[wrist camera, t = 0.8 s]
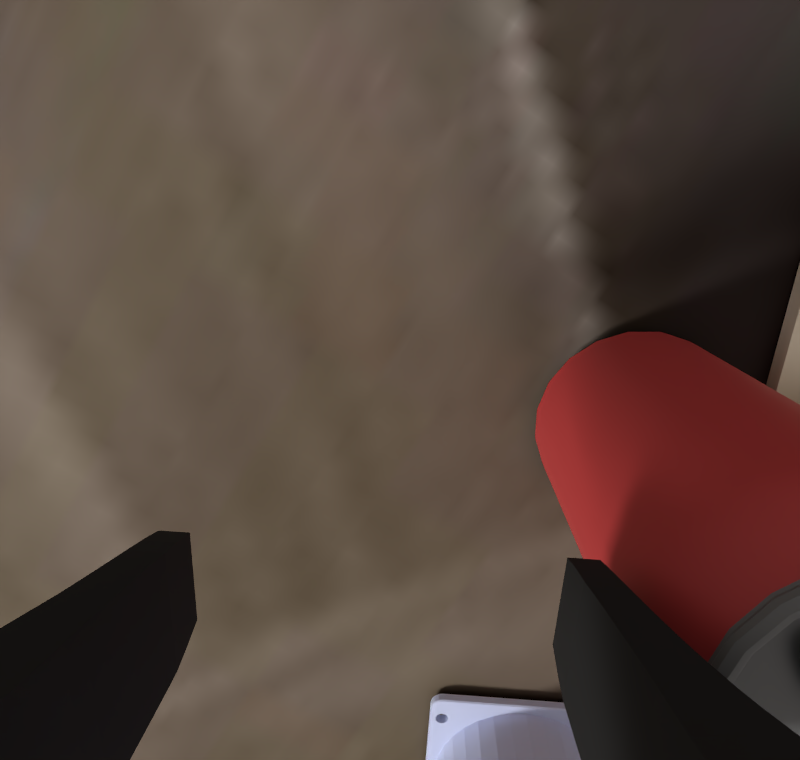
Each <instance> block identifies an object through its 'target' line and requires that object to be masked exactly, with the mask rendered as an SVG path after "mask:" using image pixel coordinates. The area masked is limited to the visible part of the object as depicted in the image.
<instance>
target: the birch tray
mask: <svg viewBox="0 0 800 760" xmlns="http://www.w3.org/2000/svg"><path fill="white" fill-rule="evenodd" d="M766 386H768V387H770V388H772V389H773V390H775V391H777V392H779V393H780V394H782V395H784V396H786V397H787V398H789V399H791V400H792V401H794V402H796V403H798V404H799V405H800V263H799V267H798V270H797V274H796V278H795V281H794V285H793V289H792V292H791V296H790V300H789V303H788V307H787V310H786V314H785V318H784V321H783V325H782V329H781V332H780V336H779V340H778V343H777V347H776V351H775V354H774V358H773V362H772V365H771V369H770V372H769V376H768V380H767V383H766Z"/></svg>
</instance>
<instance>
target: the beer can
mask: <svg viewBox="0 0 800 760" xmlns="http://www.w3.org/2000/svg"><path fill="white" fill-rule="evenodd" d="M535 438H536V442H537V445H538V449H539V453H540V456H541V460H542V463H543V465H544V468H545V470H546V472H547V475H548V477H549V479H550V482H551V484H552V486H553V489H554V491H555V493H556V496H557V498H558V501H559V503H560V505H561V508H562V510H563V512H564V515H565V517H566V519H567V522H568V524H569V526H570V529H571V531H572V533H573V536H574V538H575V540H576V543H577V545H578V547H579V550H580V552H581V554H582V557H583V559H595V560H601V561H602V562H603V563H604V564H605V565H606V566H607V567H608V568H609V569H611V570H612V571H613V572H614V573H615V574H616V575H617V576H618V577H619V578H620V579H621V580H622V581H623V582H624V583H625V584H626V585H627V586H628V587H629V588H630V589H631V590H632V591H633V592H634V593H635V594H636V595H637V596H638V597H639V598H640V599H641V600H642V601H643V602H644V603H645V604H646V605H647V606H648V607H649V608H650V609H651V610H652V611H653V612H654V613H655V614H656V615H657V616H658V617H659V618H660V619H661V620H662V621H663V622H664V623H665V624H667V625H668V626H669V627H670V628H671V629H672V630H673V631H674V632H675V633H676V634H677V635H678V636H679V637H680V638H681V639H682V640H684V641H685V642H686V643H687V644H688V645H689V646H690V647H691V648H692V649H693V650H695V651H696V652H697V653H698V654H699V655H700V656H701V657H702V658H703V659H705V660H706V661H707V662H708V663H709V664H710V665H712V666H713V667H714V668H715V669H716V670H717V671H719V672H720V673H721V674H722V675H723V676H724V677H726V678H727V679H728V680H729V681H730V682H731V683H733V684H734V685H735V686H736V687H737V688H738V689H740V690H741V691H742V692H743V693H745V694H746V695H747V696H748V697H750V698H751V699H752V700H753V701H754V702H756V703H757V704H758V705H759V706H761V707H762V708H763V709H765V710H766V711H767V712H769V713H770V714H771V715H773V716H774V717H775V718H777V719H778V720H779V721H781V722H782V723H783V724H784V725H786V726H787V727H788V728H790V729H791V730H792V731H794V732H795V733H796V734H798V735H799V736H800V405H799V404H798V403H796V402H794V401H792V400H791V399H789V398H787V397H786V396H784V395H782V394H780V393H779V392H777V391H775V390H773V389H772V388H770V387H768V386H766V385H765V384H763V383H761V382H760V381H758V380H756V379H754V378H753V377H751V376H749V375H747V374H746V373H744V372H742V371H741V370H739V369H737V368H735V367H734V366H732V365H730V364H728V363H727V362H725V361H723V360H721V359H720V358H718V357H716V356H715V355H713V354H711V353H709V352H708V351H706V350H704V349H702V348H701V347H699V346H697V345H695V344H694V343H692V342H690V341H687V340H684V339H681V338H678V337H675V336H672V335H669V334H666V333H663V332H626V333H622V334H619V335H616V336H612V337H609V338H605V339H602V340H599V341H596V342H595V343H593V344H591V345H590V346H588V347H587V348H585V349H584V350H582V351H581V352H579V353H577V354H576V355H574V356H573V357H571V358H570V359H569V360H568V361H567V362H566V363H565V364H564V365H563V367H562V368H561V369H560V370H559V371H558V372H557V374H556V375H555V376H554V377H553V378H552V379H551V380H550V382H549V383H548V386H547V388H546V390H545V393H544V395H543V397H542V399H541V402H540V404H539V406H538V409H537V419H536V432H535Z"/></svg>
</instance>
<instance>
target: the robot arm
mask: <svg viewBox="0 0 800 760" xmlns="http://www.w3.org/2000/svg"><path fill="white" fill-rule="evenodd" d="M196 621H197V613H196V601H195V589H194V578H193V566H192V554H191V542H190V533H186V532H171V531H157V532H155V533H154V534H152V535H150V536H148V537H147V538H145V539H143V540H142V541H140V542H139V543H137V544H135V545H134V546H132V547H131V548H129V549H128V550H126V551H125V552H123V553H121V554H120V555H118V556H117V557H115V558H114V559H112V560H111V561H109V562H108V563H106V564H105V565H103V566H101V567H100V568H98V569H97V570H95V571H94V572H92V573H91V574H89V575H87V576H86V577H84V578H83V579H81V580H80V581H78V582H76V583H75V584H73V585H72V586H70V587H69V588H67V589H65V590H64V591H62V592H61V593H59V594H58V595H56V596H54V597H52V598H51V599H49V600H47V601H46V602H44V603H42V604H41V605H39V606H37V607H36V608H34V609H32V610H30V611H29V612H27V613H25V614H24V615H22V616H20V617H19V618H17V619H15V620H14V621H12V622H10V623H8V624H7V625H5V626H3V627H2V628H0V760H130V758H131V757H132V755H133V753H134V751H135V749H136V747H137V746H138V744H139V742H140V740H141V738H142V736H143V734H144V733H145V731H146V729H147V727H148V725H149V723H150V721H151V720H152V718H153V716H154V714H155V712H156V710H157V708H158V707H159V705H160V703H161V701H162V699H163V697H164V695H165V693H166V691H167V690H168V688H169V686H170V684H171V682H172V680H173V678H174V676H175V674H176V672H177V670H178V668H179V665H180V663H181V660H182V658H183V655H184V653H185V650H186V648H187V645H188V643H189V640H190V637H191V635H192V632H193V629H194V626H195V624H196ZM553 648H554V654H555V660H556V666H557V672H558V677H559V682H560V687H561V693H562V698H563V702H550V701H537V700H523V699H510V698H496V697H483V696H469V695H456V694H437V695H435V696H434V697H433V698H432V699H431V704H430V716H429V727H428V738H427V750H426V760H800V736H799V735H798V734H796V733H795V732H794V731H792V730H791V729H790V728H788V727H787V726H786V725H784V724H783V723H782V722H781V721H779V720H778V719H777V718H775V717H774V716H773V715H771V714H770V713H769V712H767V711H766V710H765V709H763V708H762V707H761V706H759V705H758V704H757V703H756V702H754V701H753V700H752V699H751V698H750V697H748V696H747V695H746V694H745V693H743V692H742V691H741V690H740V689H738V688H737V687H736V686H735V685H734V684H733V683H731V682H730V681H729V680H728V679H727V678H726V677H724V676H723V675H722V674H721V673H720V672H719V671H717V670H716V669H715V668H714V667H713V666H712V665H710V664H709V663H708V662H707V661H706V660H705V659H703V658H702V657H701V656H700V655H699V654H698V653H697V652H696V651H695V650H693V649H692V648H691V647H690V646H689V645H688V644H687V643H686V642H685V641H684V640H682V639H681V638H680V637H679V636H678V635H677V634H676V633H675V632H674V631H673V630H672V629H671V628H670V627H669V626H668V625H667V624H665V623H664V622H663V621H662V620H661V619H660V618H659V617H658V616H657V615H656V614H655V613H654V612H653V611H652V610H651V609H650V608H649V607H648V606H647V605H646V604H645V603H644V602H643V601H642V600H641V599H640V598H639V597H638V596H637V595H636V594H635V593H634V592H633V591H632V590H631V589H630V588H629V587H628V586H627V585H626V584H625V583H624V582H623V581H622V580H621V579H620V578H619V577H618V576H617V575H616V574H615V573H614V572H613V571H612V570H611V569H609V568H608V567H607V566H606V565H605V564H604V563H603V562H602V561H601V560H595V559H579V558H567V564H566V570H565V576H564V582H563V587H562V593H561V599H560V605H559V611H558V617H557V623H556V629H555V635H554V641H553ZM439 714H445V715H439Z"/></svg>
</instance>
